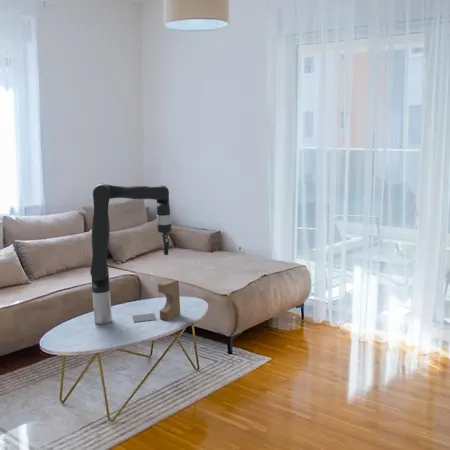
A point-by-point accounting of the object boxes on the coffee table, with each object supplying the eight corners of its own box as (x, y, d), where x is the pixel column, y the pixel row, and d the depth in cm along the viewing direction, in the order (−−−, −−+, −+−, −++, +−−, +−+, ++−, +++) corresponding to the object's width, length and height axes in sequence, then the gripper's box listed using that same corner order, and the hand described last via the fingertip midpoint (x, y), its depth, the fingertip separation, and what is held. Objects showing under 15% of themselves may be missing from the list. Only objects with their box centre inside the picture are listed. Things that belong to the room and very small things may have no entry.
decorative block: (166, 321, 320) (164, 285, 317) (159, 319, 324) (157, 283, 321) (181, 315, 329) (179, 280, 325) (174, 313, 332) (171, 278, 329)
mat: (134, 322, 320) (134, 321, 320) (132, 316, 331) (132, 315, 331) (156, 320, 323) (156, 319, 323) (154, 313, 333) (153, 313, 333)
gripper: (155, 221, 325) (157, 252, 328) (158, 225, 312) (160, 257, 315) (169, 220, 327) (171, 251, 330) (172, 224, 313) (174, 256, 316)
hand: (166, 254), depth 322 cm, fingers closed
